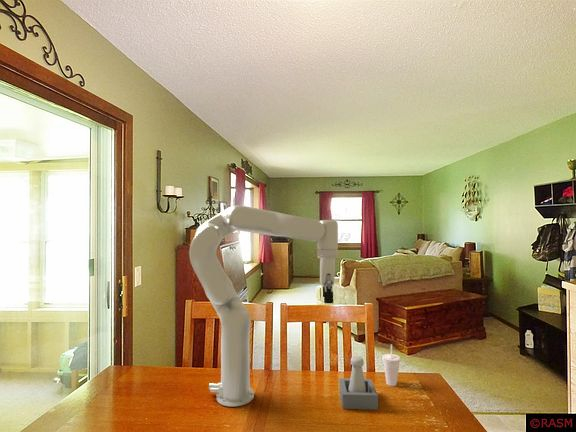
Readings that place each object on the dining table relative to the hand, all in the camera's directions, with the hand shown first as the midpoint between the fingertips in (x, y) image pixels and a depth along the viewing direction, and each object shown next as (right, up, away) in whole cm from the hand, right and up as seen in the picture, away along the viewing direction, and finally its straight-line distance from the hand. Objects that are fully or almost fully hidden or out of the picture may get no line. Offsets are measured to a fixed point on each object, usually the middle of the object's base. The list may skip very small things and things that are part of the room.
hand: (327, 299), depth 128 cm
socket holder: (+8, -30, -13) cm, 34 cm away
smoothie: (+23, -30, -1) cm, 38 cm away
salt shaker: (+8, -29, -13) cm, 33 cm away
